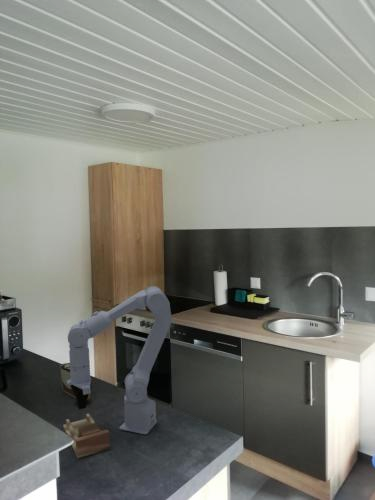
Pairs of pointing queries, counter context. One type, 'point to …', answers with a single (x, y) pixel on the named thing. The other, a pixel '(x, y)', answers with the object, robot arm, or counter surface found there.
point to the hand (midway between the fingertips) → (81, 407)
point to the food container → (66, 378)
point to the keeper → (88, 429)
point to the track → (87, 438)
